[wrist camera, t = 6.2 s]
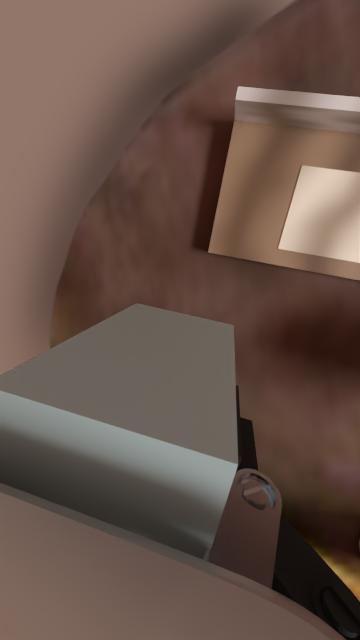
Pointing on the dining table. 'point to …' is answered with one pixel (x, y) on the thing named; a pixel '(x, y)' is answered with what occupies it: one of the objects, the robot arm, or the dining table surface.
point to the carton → (129, 425)
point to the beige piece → (292, 182)
